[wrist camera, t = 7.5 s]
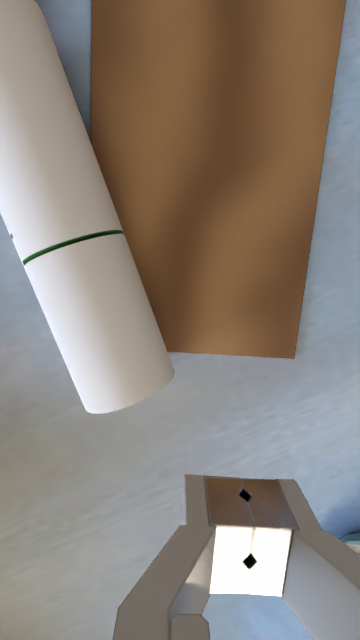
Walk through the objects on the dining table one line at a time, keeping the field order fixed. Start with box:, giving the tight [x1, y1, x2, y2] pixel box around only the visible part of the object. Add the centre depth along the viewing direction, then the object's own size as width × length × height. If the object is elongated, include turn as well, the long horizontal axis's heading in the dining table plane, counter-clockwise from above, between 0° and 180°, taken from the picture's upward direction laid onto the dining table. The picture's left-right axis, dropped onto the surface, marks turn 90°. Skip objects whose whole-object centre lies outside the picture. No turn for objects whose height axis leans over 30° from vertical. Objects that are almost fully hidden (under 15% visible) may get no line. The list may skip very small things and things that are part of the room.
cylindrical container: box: [0, 0, 175, 414], centre depth 21 cm, size 7×7×25 cm
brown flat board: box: [91, 0, 346, 359], centre depth 24 cm, size 18×29×1 cm, turn 176°
